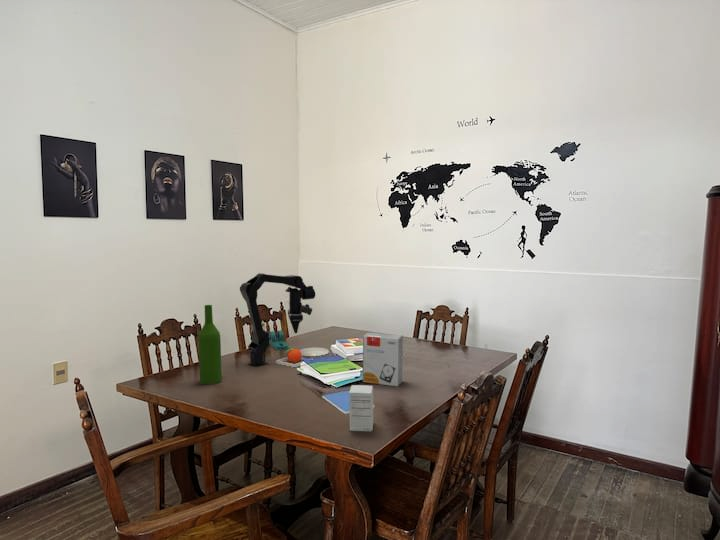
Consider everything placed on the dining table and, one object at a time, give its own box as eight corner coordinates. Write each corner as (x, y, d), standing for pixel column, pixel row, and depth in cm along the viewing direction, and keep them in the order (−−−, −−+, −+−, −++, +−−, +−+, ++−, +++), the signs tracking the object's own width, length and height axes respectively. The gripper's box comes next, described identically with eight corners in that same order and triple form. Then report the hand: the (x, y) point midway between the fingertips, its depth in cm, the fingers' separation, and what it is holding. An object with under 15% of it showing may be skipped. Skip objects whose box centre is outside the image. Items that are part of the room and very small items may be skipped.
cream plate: (314, 359, 236) (314, 357, 236) (291, 354, 245) (291, 352, 245) (335, 352, 249) (335, 350, 249) (311, 347, 258) (311, 346, 258)
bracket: (269, 344, 268) (268, 330, 268) (280, 342, 271) (280, 329, 271) (277, 351, 252) (277, 336, 251) (290, 350, 255) (289, 335, 254)
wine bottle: (212, 376, 209) (210, 303, 206) (226, 380, 204) (223, 304, 201) (195, 382, 202) (192, 305, 199) (208, 385, 197) (206, 307, 194)
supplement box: (351, 421, 159) (351, 384, 158) (373, 422, 158) (373, 385, 157) (349, 431, 151) (348, 392, 150) (372, 431, 151) (372, 392, 150)
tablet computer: (375, 408, 171) (375, 405, 171) (344, 415, 165) (344, 412, 165) (350, 392, 188) (350, 389, 188) (321, 398, 182) (321, 395, 182)
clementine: (286, 365, 225) (285, 350, 224) (284, 361, 232) (284, 347, 231) (302, 364, 227) (302, 349, 226) (300, 360, 234) (300, 346, 233)
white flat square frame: (294, 367, 221) (294, 364, 221) (276, 363, 228) (276, 360, 228) (310, 362, 230) (310, 359, 230) (292, 358, 237) (292, 355, 237)
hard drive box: (362, 382, 199) (361, 335, 197) (368, 377, 206) (367, 332, 204) (398, 386, 193) (398, 338, 192) (403, 381, 201) (403, 334, 199)
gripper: (313, 302, 231) (313, 334, 232) (309, 297, 249) (309, 327, 251) (290, 303, 229) (290, 335, 230) (287, 298, 247) (287, 328, 248)
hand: (295, 331), depth 240 cm, fingers open, 9 cm apart
